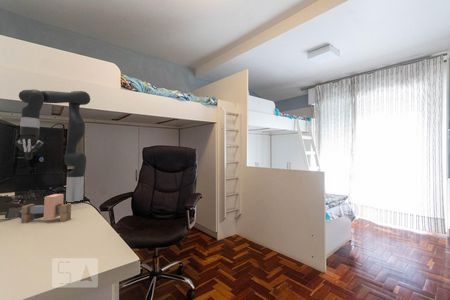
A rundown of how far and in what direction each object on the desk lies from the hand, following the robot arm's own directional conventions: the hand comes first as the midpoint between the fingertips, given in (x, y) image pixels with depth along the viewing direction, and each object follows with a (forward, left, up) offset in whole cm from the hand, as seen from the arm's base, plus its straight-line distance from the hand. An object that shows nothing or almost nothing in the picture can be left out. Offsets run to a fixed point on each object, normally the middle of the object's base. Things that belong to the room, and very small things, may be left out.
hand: (28, 159), depth 110 cm
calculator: (+1, +9, -30) cm, 31 cm away
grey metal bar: (+13, +18, -25) cm, 34 cm away
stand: (+13, +18, -29) cm, 37 cm away
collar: (+13, +21, -27) cm, 37 cm away
